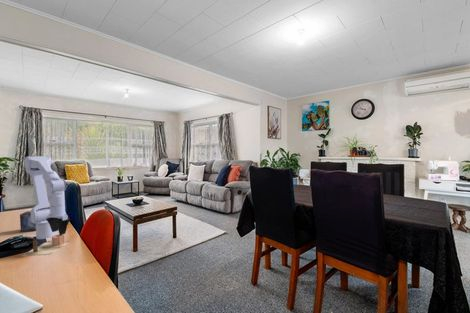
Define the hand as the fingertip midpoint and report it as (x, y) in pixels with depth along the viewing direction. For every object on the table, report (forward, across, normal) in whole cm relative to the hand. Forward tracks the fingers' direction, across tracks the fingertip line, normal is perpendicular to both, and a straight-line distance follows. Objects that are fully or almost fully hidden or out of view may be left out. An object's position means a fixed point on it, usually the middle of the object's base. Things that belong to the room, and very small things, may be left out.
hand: (58, 232), depth 107 cm
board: (+7, 0, -4) cm, 8 cm away
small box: (+7, -42, +4) cm, 42 cm away
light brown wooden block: (+5, 0, 0) cm, 5 cm away
